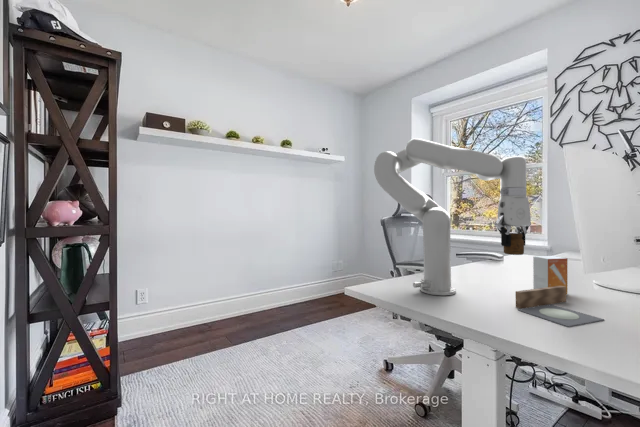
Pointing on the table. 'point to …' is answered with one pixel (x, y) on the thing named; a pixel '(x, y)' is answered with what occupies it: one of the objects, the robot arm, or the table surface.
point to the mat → (560, 315)
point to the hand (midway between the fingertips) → (513, 245)
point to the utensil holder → (515, 244)
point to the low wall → (540, 296)
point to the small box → (549, 271)
